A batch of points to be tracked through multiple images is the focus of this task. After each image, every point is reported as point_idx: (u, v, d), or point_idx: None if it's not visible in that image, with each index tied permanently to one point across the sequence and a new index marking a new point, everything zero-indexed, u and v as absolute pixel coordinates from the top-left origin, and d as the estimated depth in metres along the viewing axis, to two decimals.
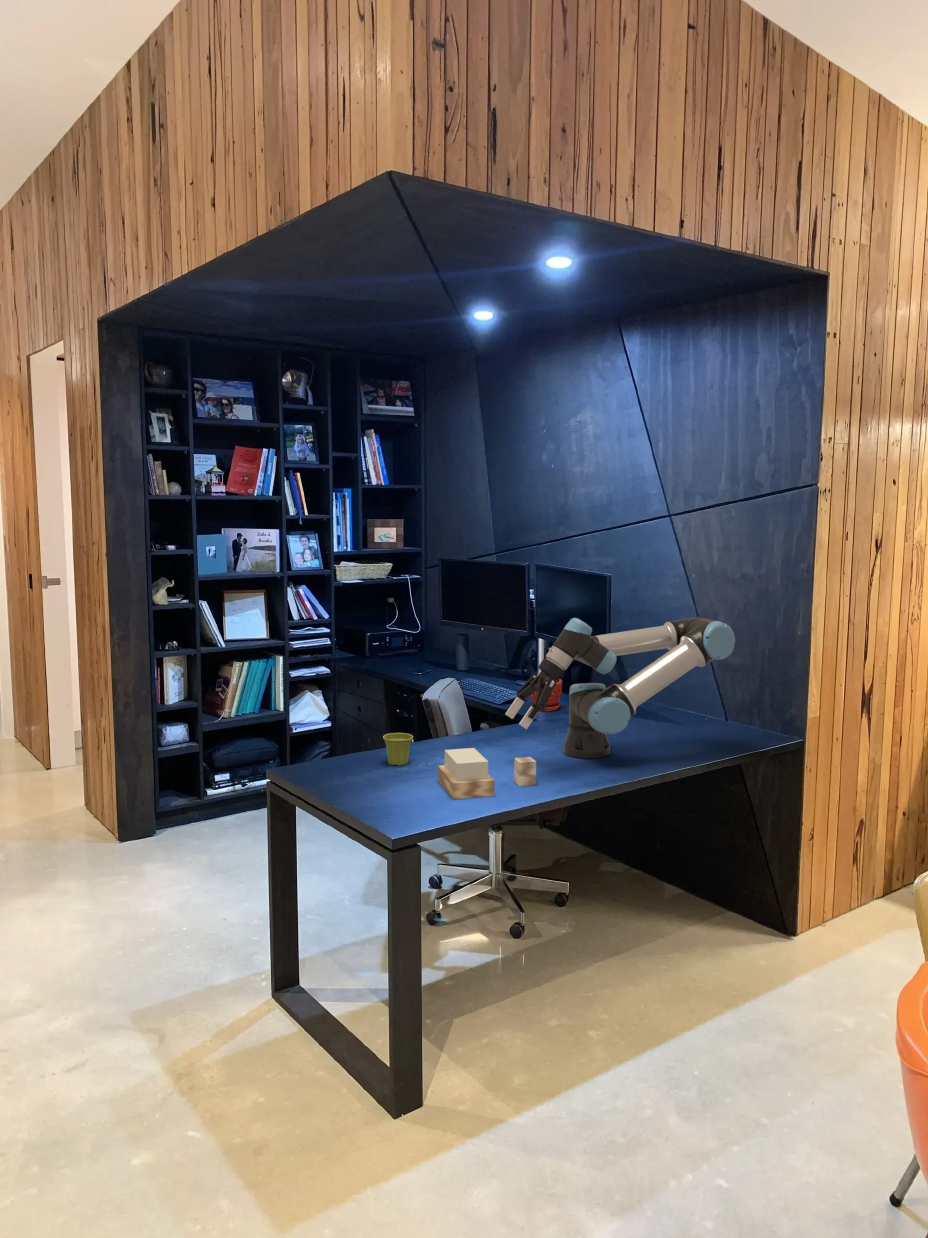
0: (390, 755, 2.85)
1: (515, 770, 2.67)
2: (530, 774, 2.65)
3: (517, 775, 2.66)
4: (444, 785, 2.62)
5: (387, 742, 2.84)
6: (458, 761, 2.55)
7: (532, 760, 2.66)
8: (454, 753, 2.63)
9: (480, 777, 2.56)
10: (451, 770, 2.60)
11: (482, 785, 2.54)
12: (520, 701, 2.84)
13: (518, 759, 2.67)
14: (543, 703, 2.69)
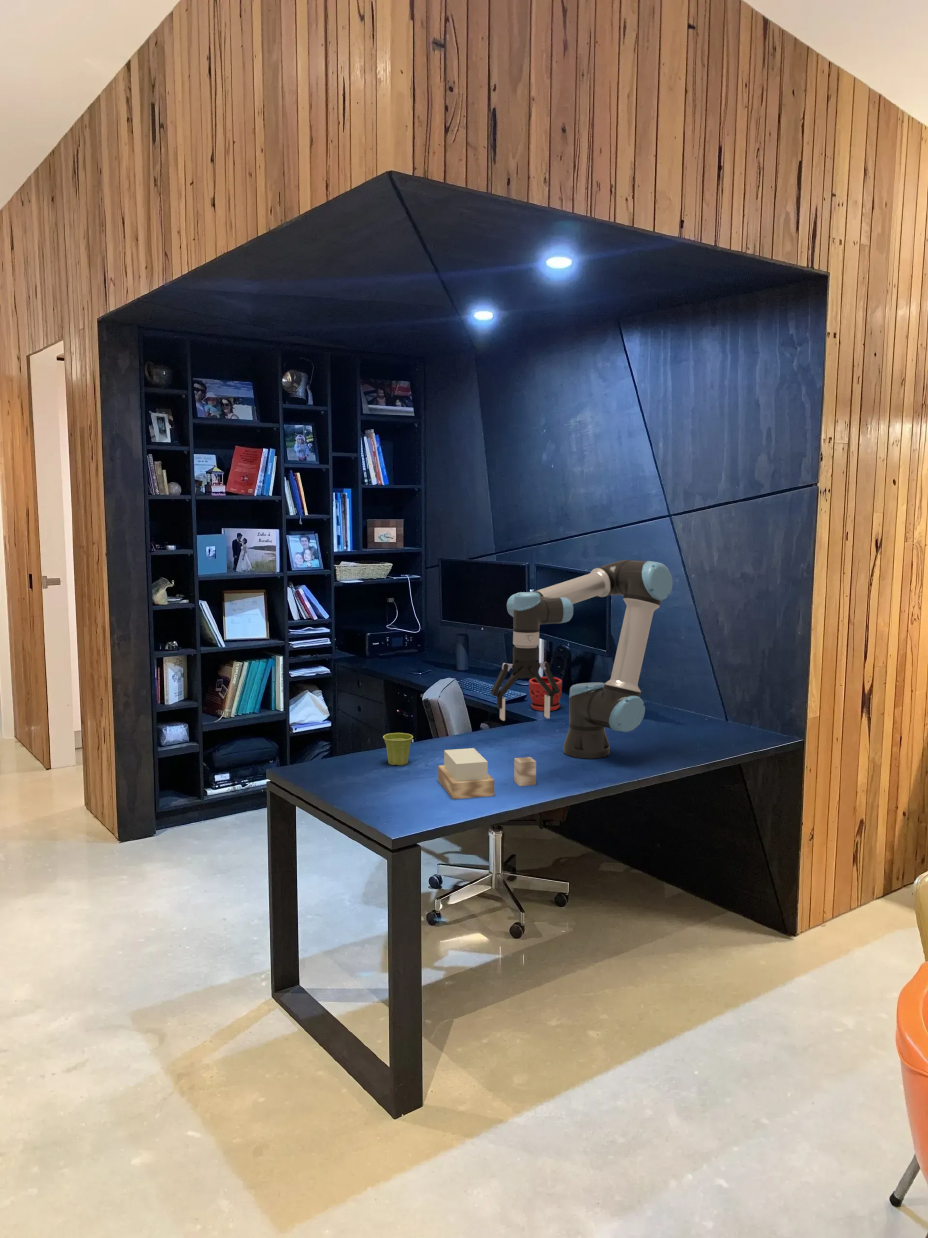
0: (390, 755, 2.85)
1: (515, 770, 2.67)
2: (530, 774, 2.65)
3: (517, 775, 2.66)
4: (444, 785, 2.62)
5: (387, 742, 2.84)
6: (457, 762, 2.55)
7: (532, 760, 2.66)
8: (454, 754, 2.63)
9: (479, 777, 2.55)
10: (451, 770, 2.60)
11: (482, 785, 2.54)
12: None
13: (518, 759, 2.67)
14: None
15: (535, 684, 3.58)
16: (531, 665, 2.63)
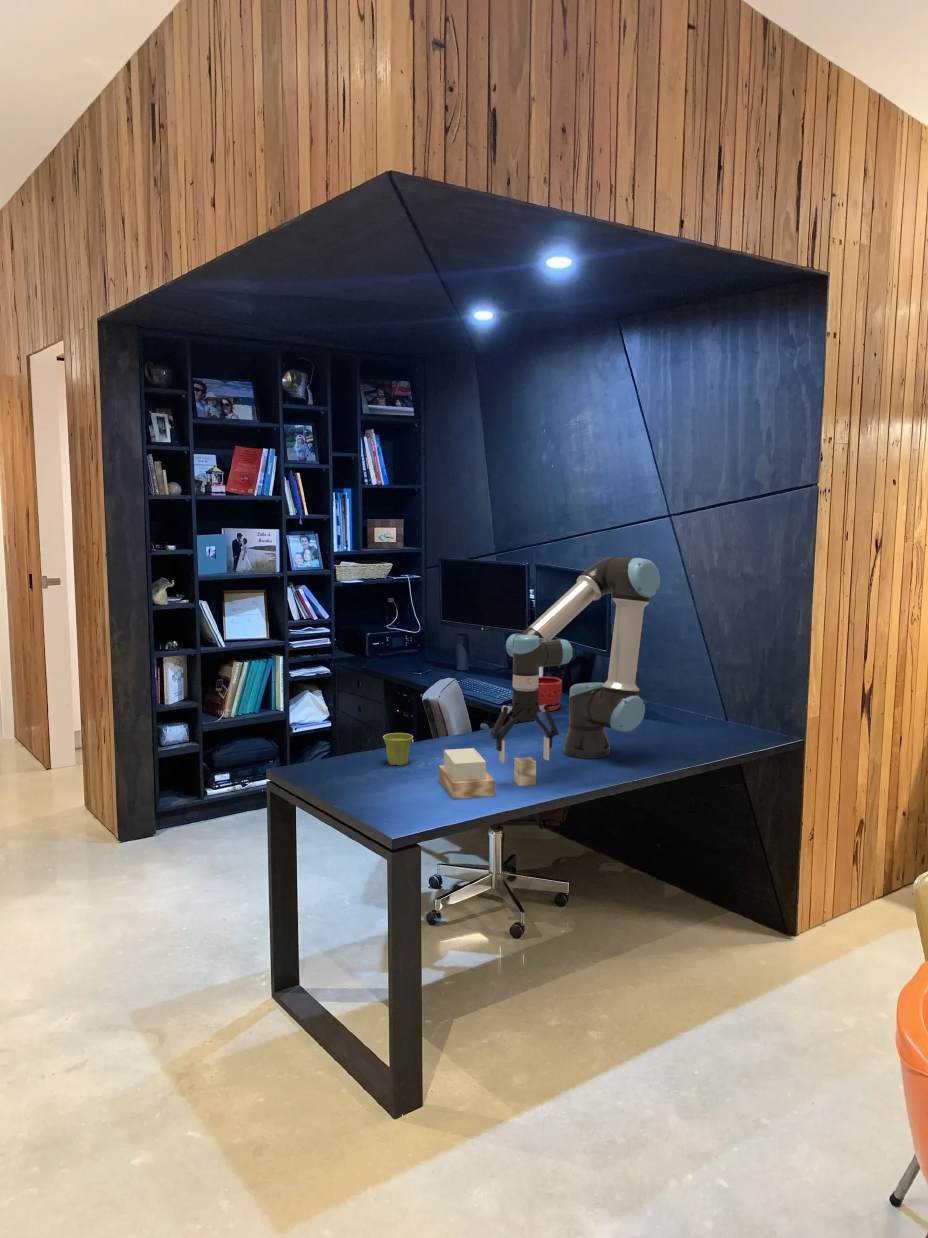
0: (390, 755, 2.85)
1: (515, 770, 2.67)
2: (530, 774, 2.65)
3: (517, 775, 2.66)
4: (445, 785, 2.62)
5: (387, 742, 2.84)
6: (456, 761, 2.55)
7: (532, 760, 2.66)
8: (453, 753, 2.63)
9: (478, 777, 2.55)
10: (449, 770, 2.60)
11: (483, 785, 2.54)
12: None
13: (518, 759, 2.67)
14: None
15: None
16: (530, 708, 2.64)
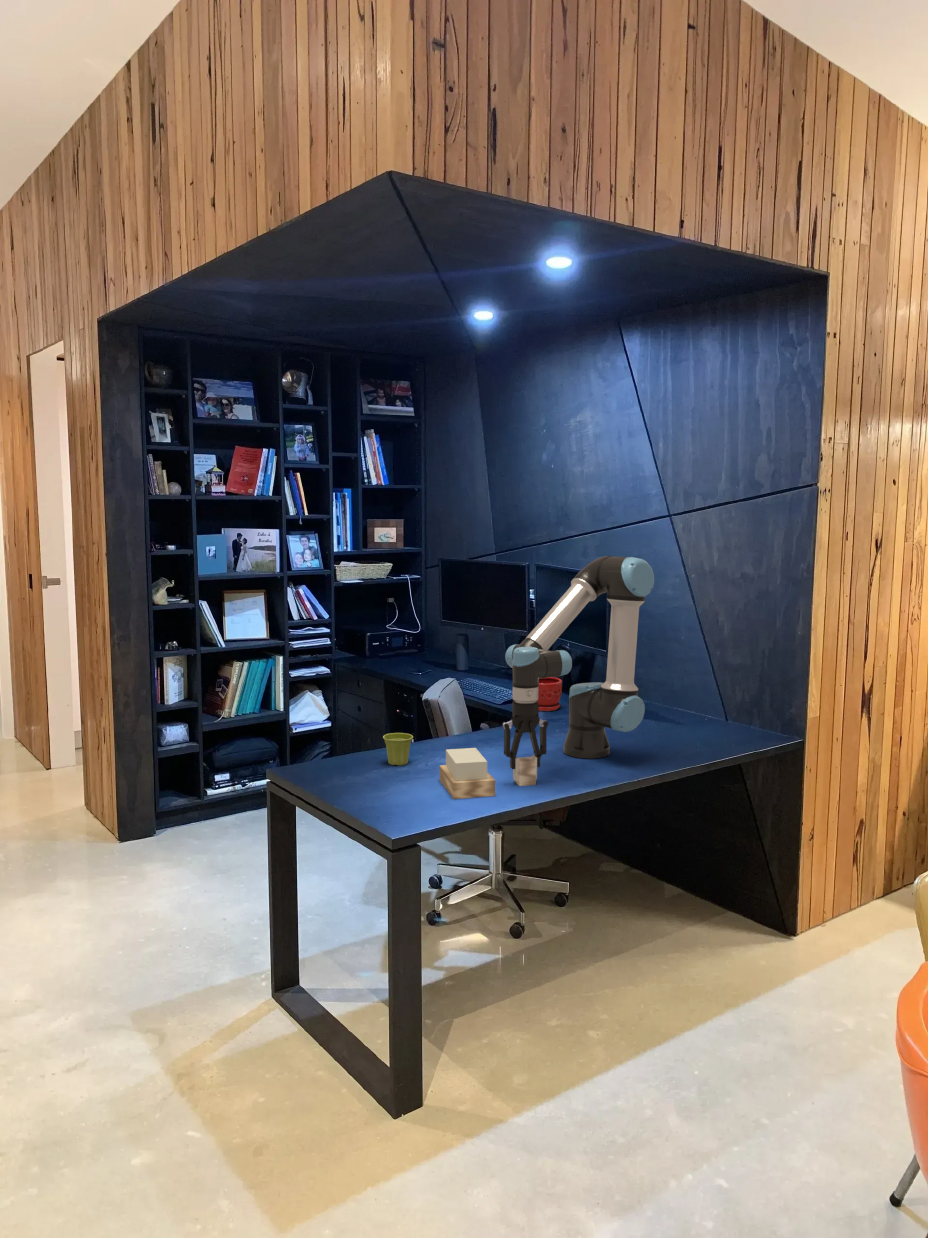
0: (390, 755, 2.85)
1: None
2: (530, 774, 2.65)
3: None
4: (445, 785, 2.62)
5: (387, 742, 2.84)
6: (457, 761, 2.55)
7: (532, 760, 2.66)
8: (455, 753, 2.64)
9: (479, 777, 2.55)
10: (451, 770, 2.60)
11: (483, 785, 2.54)
12: None
13: None
14: None
15: None
16: (532, 717, 2.64)
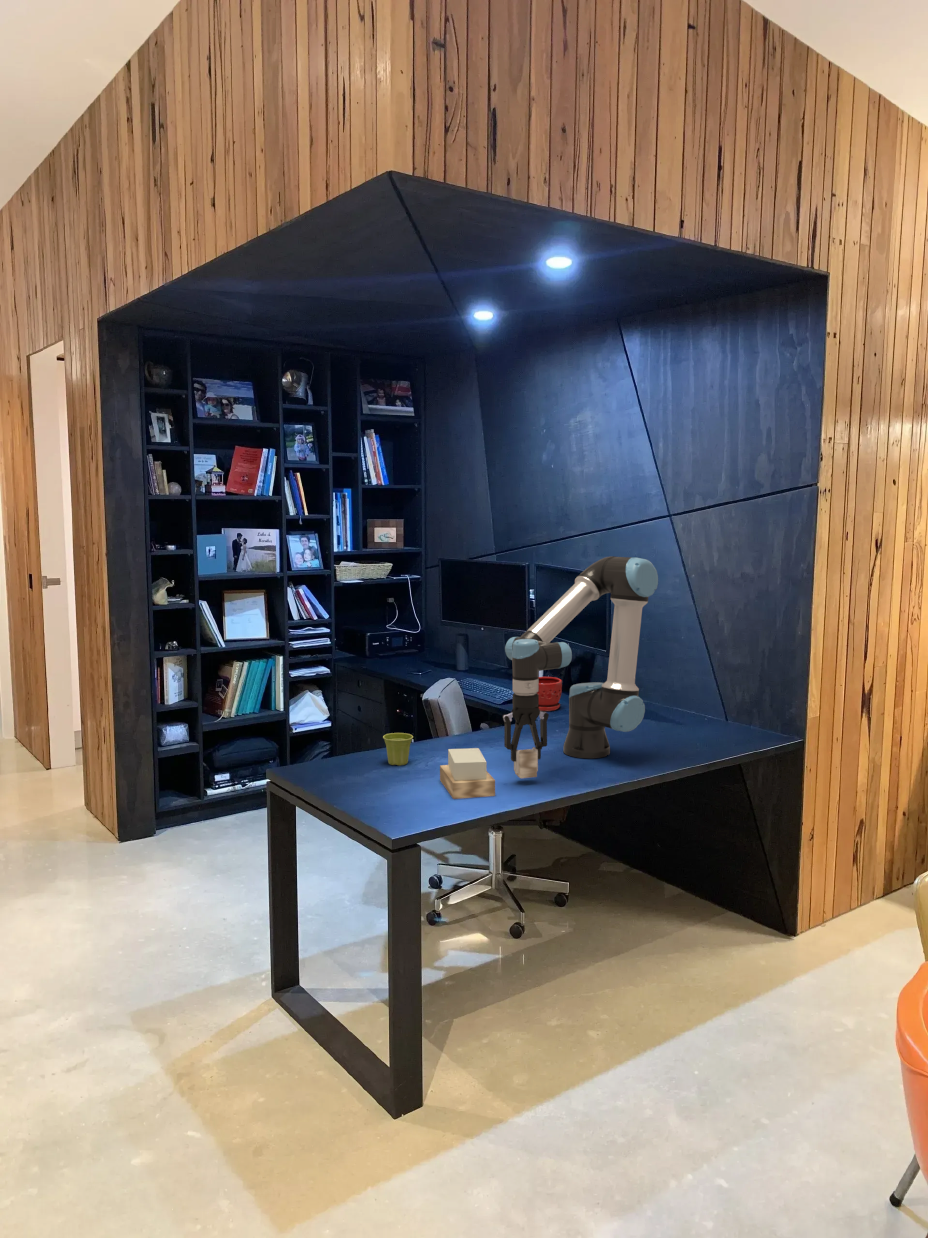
0: (390, 755, 2.85)
1: None
2: (531, 766, 2.65)
3: None
4: (445, 785, 2.62)
5: (387, 742, 2.84)
6: (456, 761, 2.56)
7: (533, 752, 2.65)
8: (456, 753, 2.64)
9: (478, 777, 2.55)
10: (451, 769, 2.61)
11: (483, 785, 2.54)
12: None
13: (519, 751, 2.67)
14: None
15: None
16: (532, 709, 2.64)
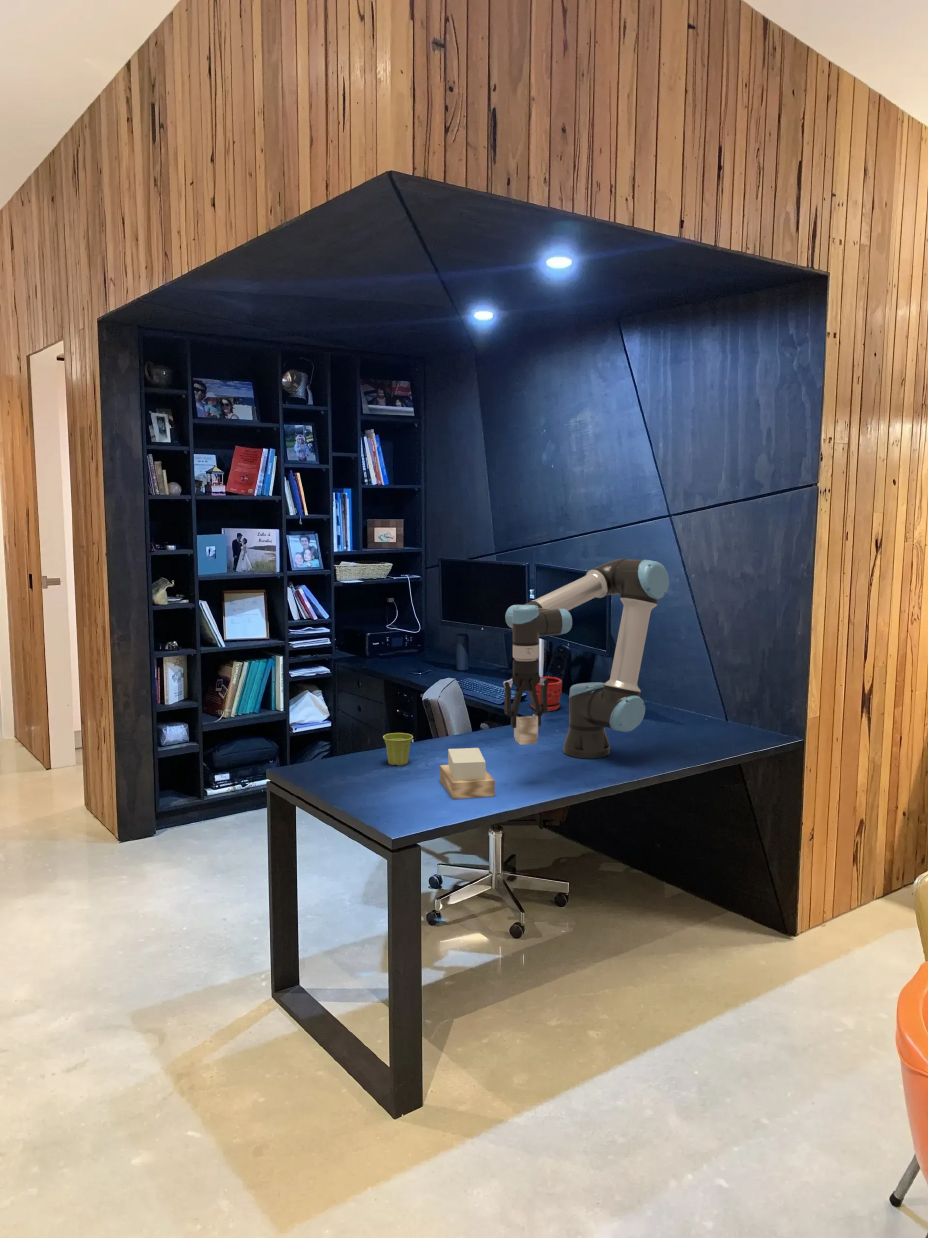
0: (390, 755, 2.85)
1: None
2: (531, 732, 2.63)
3: None
4: (445, 785, 2.62)
5: (387, 742, 2.84)
6: (455, 761, 2.56)
7: (533, 719, 2.64)
8: (456, 753, 2.64)
9: (477, 777, 2.55)
10: (451, 769, 2.61)
11: (482, 785, 2.54)
12: None
13: (519, 718, 2.65)
14: None
15: None
16: (532, 675, 2.63)
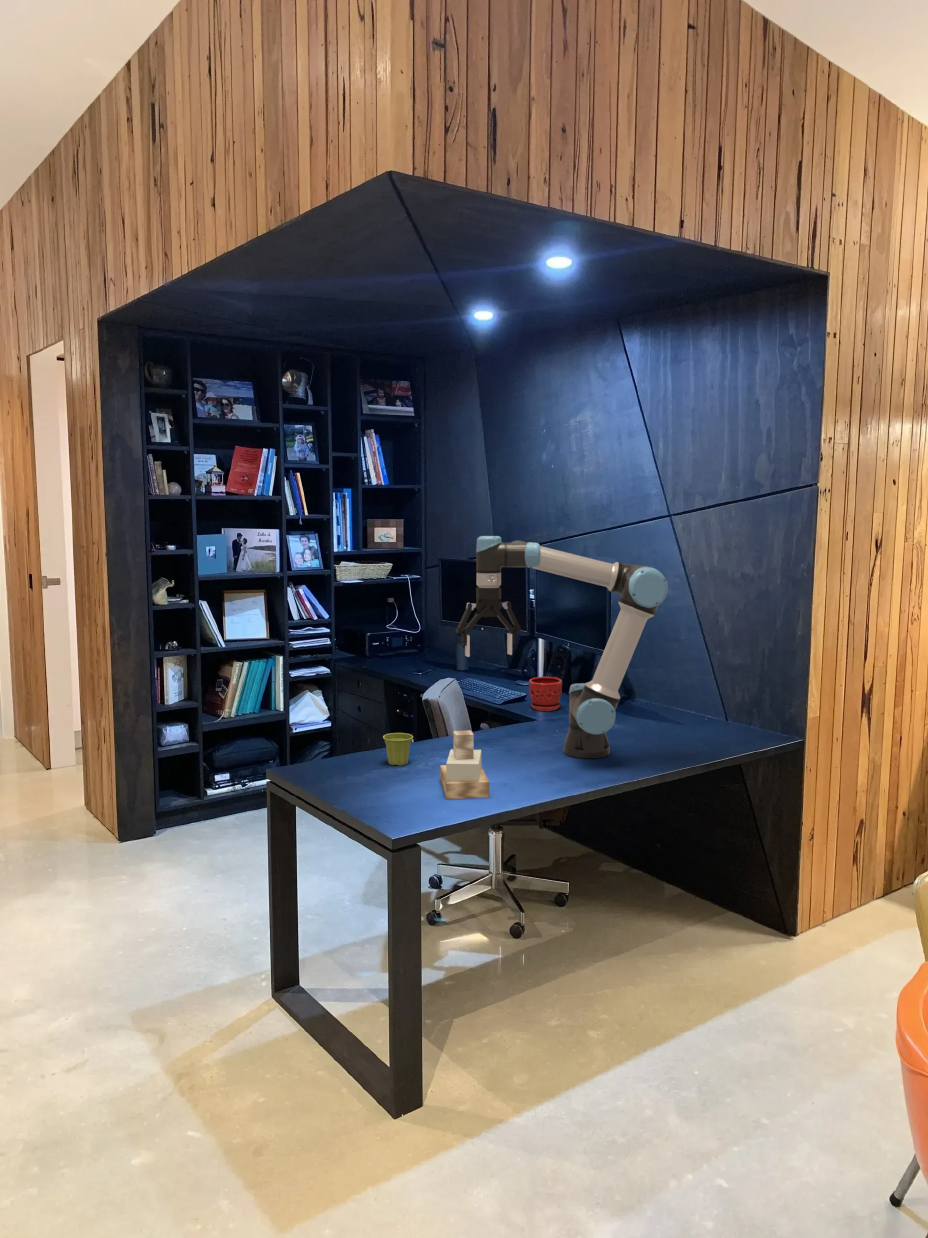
0: (390, 755, 2.85)
1: (454, 743, 2.61)
2: (467, 747, 2.58)
3: (455, 748, 2.59)
4: None
5: (387, 742, 2.84)
6: (450, 761, 2.56)
7: (470, 733, 2.59)
8: None
9: (470, 779, 2.54)
10: None
11: (477, 786, 2.53)
12: None
13: (456, 732, 2.60)
14: None
15: (535, 684, 3.58)
16: (494, 604, 2.79)
